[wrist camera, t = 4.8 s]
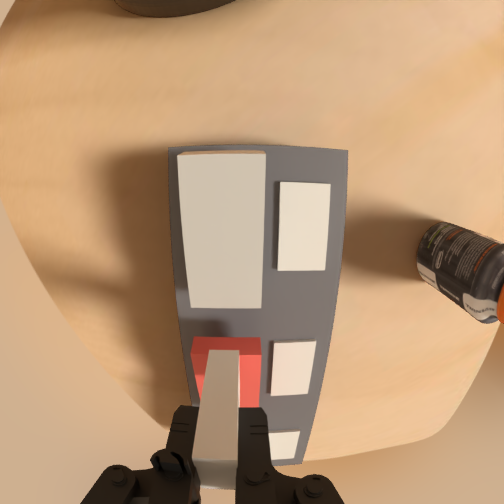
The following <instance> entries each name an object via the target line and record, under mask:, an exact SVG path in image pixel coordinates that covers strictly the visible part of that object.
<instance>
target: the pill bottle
mask: <svg viewBox="0 0 504 504" xmlns="http://www.w3.org/2000/svg"><path fill="white" fill-rule="evenodd" d="M417 268H418V272H419V274H420V276H421V277H422V278H423V279H424V281H426V282H427V283H428V284H430V285H431V286H433V287H434V288H436V289H437V290H438V291H440V292H441V293H442V294H444V295H445V296H447V297H448V298H449V299H451V300H452V301H453V302H455V303H456V304H457V305H459V306H460V307H461V308H462V309H464V310H465V311H466V312H468V313H469V314H470V315H471V316H472V317H474V318H475V319H476V320H478V321H480V322H481V323H486V324H488V323H493V322H496V321H497V320H499V321H500V322H501V323H503V324H504V244H503V243H501V242H499V241H497V240H494V239H492V238H490V237H488V236H485V235H482V234H479V233H477V232H474V231H471V230H468V229H465V228H463V227H460V226H457V225H454V224H451V223H447V222H441V223H438V224H436V225H434V226H432V227H431V228H430V229H429V230H428V231H427V232H426V234H425V235H424V236H423V238H422V240H421V242H420V245H419V248H418V252H417Z"/></svg>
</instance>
